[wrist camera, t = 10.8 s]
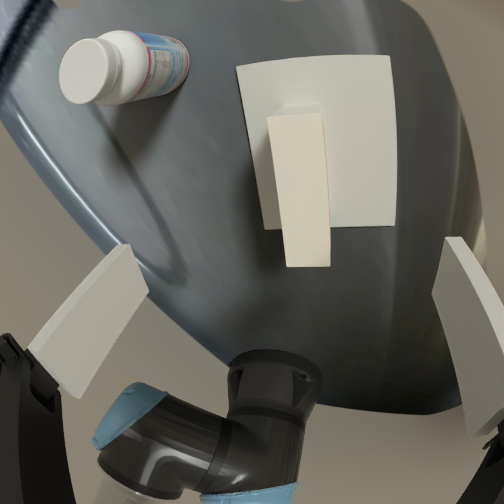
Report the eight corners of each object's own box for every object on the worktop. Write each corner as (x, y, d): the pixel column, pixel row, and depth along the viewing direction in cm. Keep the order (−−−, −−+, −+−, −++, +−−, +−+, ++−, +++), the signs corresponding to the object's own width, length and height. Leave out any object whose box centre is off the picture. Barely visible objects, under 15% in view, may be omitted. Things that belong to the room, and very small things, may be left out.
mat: (393, 223, 26) (394, 225, 26) (265, 227, 29) (264, 229, 29) (388, 56, 18) (389, 55, 17) (237, 66, 21) (235, 66, 21)
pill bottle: (127, 61, 22) (42, 70, 13) (173, 25, 19) (93, 9, 10) (153, 106, 24) (73, 132, 15) (203, 73, 22) (131, 76, 13)
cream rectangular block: (328, 209, 26) (330, 266, 19) (297, 210, 27) (286, 266, 20) (320, 102, 21) (322, 112, 14) (284, 105, 22) (266, 117, 15)
